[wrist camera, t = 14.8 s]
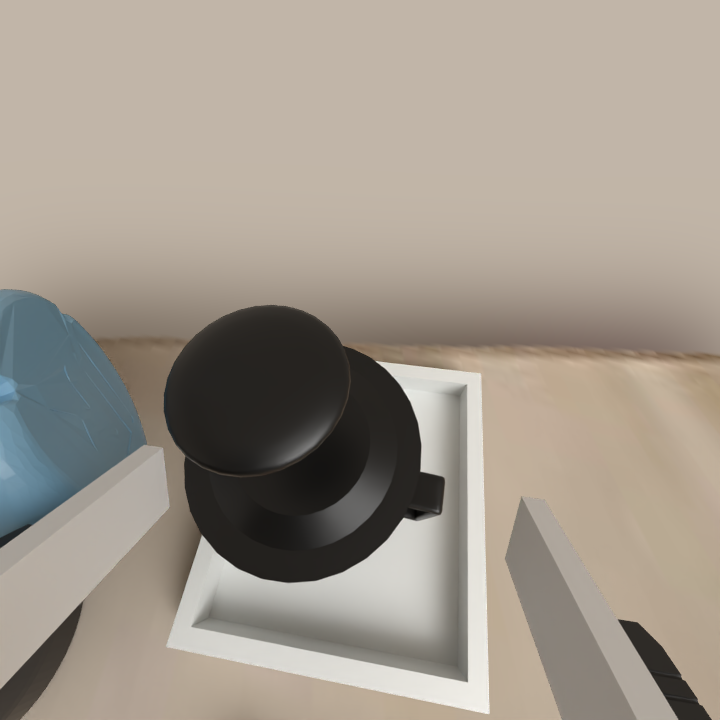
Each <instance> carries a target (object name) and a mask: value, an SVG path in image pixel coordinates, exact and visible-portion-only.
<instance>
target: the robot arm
mask: <svg viewBox="0 0 720 720" xmlns="http://www.w3.org/2000/svg"><path fill="white" fill-rule="evenodd" d="M169 508H170V505H169V496H168V487H167V478H166V470H165V461H164V452H163V447H157V446H149V445H147V442H146V438H145V434H144V431H143V427H142V425H141V422H140V419H139V416H138V413H137V411H136V408H135V406H134V403H133V401H132V399H131V397H130V395H129V393H128V391H127V389H126V387H125V385H124V383H123V381H122V380H121V378H120V376H119V374H118V373H117V371H116V369H115V368H114V366H113V365H112V363H111V362H110V360H109V359H108V357H107V356H106V355H105V353H104V352H103V351H102V349H101V348H100V347H99V345H98V344H97V343H96V341H95V340H94V339H93V338H92V337H91V336H90V334H89V333H88V332H87V331H86V330H85V329H84V328H83V327H82V326H81V325H80V324H79V323H78V322H77V321H76V320H75V319H73V318H72V317H71V316H69V315H66V314H62V313H61V312H60V311H59V309H58V308H57V306H56V305H55V304H53V303H51V302H50V301H48V300H46V299H44V298H42V297H40V296H38V295H36V294H33V293H30V292H27V291H21V290H6V289H4V290H0V720H20V719H21V718H22V717H23V716H24V715H25V714H26V712H27V711H28V710H29V709H30V708H31V707H32V705H33V704H34V703H35V702H36V700H37V699H38V698H39V697H40V695H41V694H42V692H43V691H44V690H45V688H46V687H47V685H48V684H49V682H50V681H51V679H52V678H53V676H54V674H55V673H56V671H57V669H58V667H59V666H60V664H61V662H62V660H63V658H64V656H65V654H66V652H67V650H68V647H69V645H70V643H71V640H72V638H73V635H74V632H75V629H76V626H77V623H78V619H79V616H80V611H81V607H82V601H83V600H84V599H85V598H86V597H87V596H88V595H89V594H90V592H91V591H92V590H93V589H94V588H95V587H96V586H97V585H98V584H99V583H100V582H101V581H102V580H103V578H104V577H105V576H106V575H107V574H108V573H109V572H110V571H111V570H112V569H113V568H114V567H115V566H116V565H117V563H118V562H119V561H120V560H121V559H122V558H123V557H124V556H125V555H126V554H127V553H128V552H129V551H130V549H131V548H132V547H133V546H134V545H135V544H136V543H137V542H138V541H139V540H140V539H141V538H142V537H143V536H144V534H145V533H146V532H147V531H148V530H149V529H150V528H151V527H152V526H153V525H154V524H155V523H156V522H157V520H158V519H159V518H160V517H161V516H162V515H163V514H164V513H165V512H166V511H167V510H168V509H169ZM505 560H506V563H507V566H508V568H509V571H510V574H511V577H512V580H513V582H514V585H515V588H516V591H517V594H518V597H519V599H520V602H521V605H522V608H523V611H524V613H525V616H526V619H527V622H528V625H529V628H530V630H531V633H532V636H533V639H534V642H535V644H536V647H537V650H538V653H539V656H540V659H541V661H542V664H543V667H544V670H545V673H546V675H547V678H548V681H549V684H550V687H551V690H552V692H553V695H554V698H555V701H556V704H557V706H558V709H559V712H560V715H561V718H562V720H712V719H711V718H710V717H709V715H708V714H707V712H706V711H705V709H704V708H703V706H701V705H699V703H698V699H697V697H696V696H695V694H694V693H693V692H692V690H691V689H690V687H689V686H688V684H687V683H686V681H684V680H682V678H681V674H680V672H679V671H678V670H677V668H676V667H675V665H674V664H673V662H672V661H671V659H670V658H669V656H668V655H667V653H666V652H665V650H664V649H663V647H662V646H661V645H660V644H659V643H658V642H657V641H656V640H655V639H654V638H653V637H652V636H651V635H650V634H649V633H648V632H647V631H646V630H645V629H644V628H643V627H642V626H641V625H640V624H639V623H637V622H631V621H625V620H619V619H617V618H616V616H615V615H614V613H613V611H612V610H611V608H610V606H609V605H608V603H607V601H606V600H605V598H604V596H603V595H602V593H601V592H600V590H599V588H598V587H597V585H596V583H595V582H594V580H593V578H592V577H591V575H590V573H589V572H588V570H587V568H586V567H585V565H584V564H583V562H582V560H581V559H580V557H579V555H578V554H577V552H576V550H575V549H574V547H573V545H572V544H571V542H570V541H569V539H568V537H567V536H566V534H565V532H564V531H563V529H562V527H561V526H560V524H559V522H558V521H557V519H556V518H555V516H554V514H553V513H552V511H551V509H550V508H549V506H548V504H547V503H546V501H545V500H544V499H537V498H530V497H522V496H521V500H520V504H519V508H518V511H517V515H516V519H515V523H514V526H513V530H512V534H511V538H510V542H509V545H508V549H507V553H506V557H505Z"/></svg>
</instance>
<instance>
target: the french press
mask: <svg viewBox="0 0 720 720" xmlns="http://www.w3.org/2000/svg"><path fill="white" fill-rule="evenodd" d="M164 414H165V418H166V423H167V427H168V430H169V432H170V434H171V436H172V438H173V440H174V442H175V444H176V445H177V447H178V448H179V449H180V450H181V451H182V452H183V453H184V455H185V456H186V457H185V463H184V469H185V490H186V494H187V499H188V503H189V507H190V512H191V514H192V516H193V518H194V520H195V522H196V524H197V526H198V528H199V530H200V532H201V534H202V535H203V537H204V538H205V539H206V540H207V541H208V543H209V544H210V545H211V546H212V548H213V549H214V550H215V551H216V553H217V554H219V555H220V556H221V557H223V558H224V559H225V560H227V561H228V562H229V563H231V564H232V565H233V566H235V567H236V568H237V569H239V570H242V571H244V572H246V573H249V574H251V575H253V576H256V577H258V578H260V579H265V580H271V581H277V582H284V583H298V582H310V581H318V580H321V579H324V578H327V577H330V576H333V575H336V574H339V573H342V572H344V571H346V570H348V569H349V568H351V567H353V566H355V565H356V564H358V563H360V562H361V561H363V560H365V559H367V558H368V557H369V556H370V555H371V554H372V553H373V552H374V551H376V550H377V549H378V548H379V547H380V546H381V545H382V544H383V543H384V542H385V541H387V540H388V538H389V537H390V536H391V534H392V533H393V531H394V530H395V529H396V527H397V526H398V525H399V523H400V522H401V521H402V519H403V518H406V519H410V520H414V521H421V520H424V519H428V518H431V517H435V516H439V515H441V513H442V509H443V500H444V490H445V478H444V477H443V476H438V475H434V474H430V473H425V472H421V471H420V470H421V447H422V445H421V438H420V432H419V426H418V421H417V418H416V416H415V413H414V410H413V408H412V405H411V402H410V400H409V399H408V397H407V395H406V394H405V392H404V391H403V389H402V387H401V386H400V384H399V383H398V382H397V381H396V380H395V379H394V377H393V376H392V375H391V374H390V373H389V372H388V371H387V370H386V369H385V368H384V367H382V366H381V365H380V364H378V363H377V362H376V361H374V360H373V359H372V358H370V357H368V356H366V355H364V354H362V353H360V352H358V351H356V350H354V349H351V348H348V347H344V346H342V344H341V342H340V340H339V339H338V337H337V336H336V335H335V334H334V333H333V331H332V330H331V329H330V328H329V327H328V326H327V325H326V324H324V323H323V322H322V321H320V320H319V319H317V318H316V317H315V316H313V315H310V314H308V313H306V312H304V311H302V310H298V309H295V308H291V307H286V306H276V305H266V306H254V307H250V308H246V309H241V310H238V311H236V312H233V313H230V314H228V315H225V316H223V317H221V318H220V319H218V320H216V321H215V322H213V323H211V324H209V325H208V326H207V327H205V328H204V329H203V330H202V331H201V332H199V333H198V334H197V335H195V336H194V338H193V339H192V340H191V341H190V342H189V343H188V344H187V345H186V346H185V347H184V349H183V350H182V352H181V353H180V355H179V356H178V358H177V359H176V361H175V362H174V365H173V367H172V369H171V371H170V374H169V376H168V379H167V383H166V388H165V392H164Z"/></svg>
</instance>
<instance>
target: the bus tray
mask: <svg viewBox="0 0 720 720" xmlns="http://www.w3.org/2000/svg"><path fill="white" fill-rule="evenodd" d="M376 362H377V363H378V364H380V365H381V366H382V367H384V368H385V369H386V370H387V371H388V372H389V373H390V374H391V375H392V376H393V377H394V379H395V380H396V381H397V382H398V383H399V384H400V386H401V387H402V389H403V391H404V392H405V394H406V395H407V397H408V399H409V400H410V402H411V405H412V408H413V410H414V413H415V416H416V418H417V421H418V426H419V432H420V438H421V445H422V447H421V470H420V471H421V472H425V473H430V474H434V475H438V476H443V477H444V478H445V490H444V500H443V509H442V513H441V515H439V516H435V517H431V518H428V519H424V520H421V521H414V520H410V519H406V518H403V519H402V521H401V522H400V523H399V525H398V526H397V527H396V529H395V530H394V531H393V533H392V534H391V536H390V537H389V538H388V540H387V541H385V542H384V543H383V544H382V545H381V546H380V547H379V548H378V549H377V550H376V551H374V552H373V553H372V554H371V555H370V556H369V557H368V558H367V559H365V560H363V561H361V562H360V563H358V564H356V565H355V566H353V567H351V568H349V569H348V570H346V571H344V572H342V573H339V574H336V575H333V576H330V577H327V578H324V579H321V580H318V581H310V582H298V583H284V582H277V581H271V580H265V579H260V578H258V577H256V576H253V575H251V574H249V573H246V572H244V571H242V570H239V569H237V568H236V567H235V566H233V565H232V564H231V563H229V562H228V561H227V560H225V559H224V558H223V557H221V556H220V555H219V554H217V553H216V551H215V550H214V549H213V548H212V546H211V545H210V544H209V543H208V541H207V540H206V539H205V538H204V537H203V535H202V537H201V540H200V543H199V546H198V549H197V553H196V556H195V559H194V562H193V565H192V568H191V571H190V574H189V577H188V580H187V583H186V586H185V590H184V593H183V596H182V599H181V602H180V605H179V608H178V611H177V614H176V617H175V620H174V623H173V627H172V630H171V633H170V636H169V639H168V642H167V645H166V647H169V648H174V649H178V650H183V651H188V652H193V653H198V654H202V655H207V656H212V657H217V658H222V659H226V660H231V661H236V662H241V663H246V664H250V665H255V666H260V667H265V668H270V669H274V670H279V671H284V672H289V673H294V674H299V675H303V676H308V677H313V678H318V679H323V680H327V681H332V682H337V683H342V684H347V685H351V686H356V687H361V688H366V689H371V690H375V691H380V692H385V693H390V694H395V695H399V696H404V697H409V698H414V699H419V700H423V701H428V702H433V703H438V704H443V705H447V706H452V707H457V708H462V709H467V710H471V711H476V712H481V713H486V714H489V680H488V639H487V598H486V557H485V516H484V475H483V434H482V393H481V373H472V372H464V371H455V370H447V369H438V368H430V367H421V366H412V365H404V364H395V363H387V362H378V361H376Z"/></svg>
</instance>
